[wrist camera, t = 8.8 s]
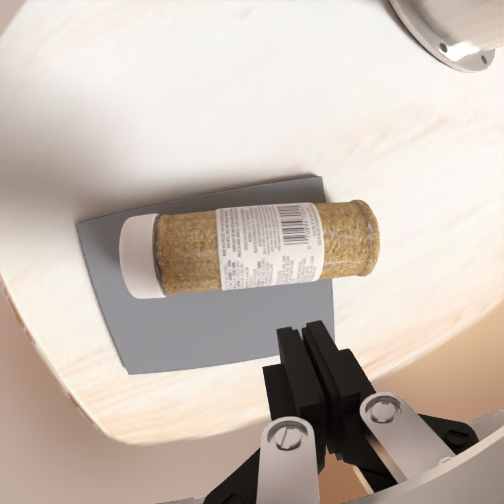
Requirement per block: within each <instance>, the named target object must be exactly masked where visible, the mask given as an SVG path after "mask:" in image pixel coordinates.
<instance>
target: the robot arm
mask: <svg viewBox="0 0 504 504" xmlns="http://www.w3.org/2000/svg"><path fill="white" fill-rule="evenodd" d="M389 1H390V3H391V5H392V6H393V8H394V10H395V12H396V13H397V15H398V16H399V18H400V19H401V21H402V22H403V23H404V25H405V26H406V27H407V28H408V30H409V31H410V32H411V34H412V35H413V36H414V37H415V38H416V39H417V40H418V41H419V42H420V43H421V44H422V45H423V46H424V47H425V48H426V49H427V50H428V51H429V52H430V53H432V54H433V55H434V56H435V57H437V58H438V59H439V60H441V61H442V62H443V63H445V64H447V65H449V66H450V67H452V68H454V69H456V70H459V71H462V72H468V73H474V72H479V71H482V70H485V69H487V68H488V67H489V66H490V65H491V63H492V61H493V59H494V53H495V48H499V47H503V46H504V0H389ZM276 332H277V339H278V346H279V353H280V360H281V364H276V365H270V366H265V367H262V368H263V374H264V380H265V385H266V391H267V397H268V403H269V408H270V414H271V419H272V422H271V423H270V424H268V425H267V426H266V427H265V429H264V430H263V433H262V436H261V447H260V448H259V449H258V450H257V451H256V452H255V453H254V454H253V455H252V456H251V457H250V458H249V459H248V460H247V461H246V462H244V463H243V464H242V465H241V466H240V467H239V468H238V469H237V470H236V471H235V472H233V473H232V474H231V475H230V476H229V477H228V478H227V479H226V480H224V481H223V482H222V483H221V484H220V485H219V486H217V487H216V488H215V489H214V490H213V491H211V492H210V494H208V495H207V497H205V498H200V499H194V498H188V499H183V500H177V501H171V502H165V503H158V504H320V500H319V485H318V475H319V473H320V472H321V471H322V469H323V468H324V466H325V465H324V464H325V455H326V446H327V449H328V451H329V453H330V454H334V453H335V455H336V458H337V460H341V459H343V461H344V462H346V463H349V464H351V465H352V468H353V470H354V472H355V474H356V475H357V477H358V479H359V480H360V482H361V483H362V485H363V486H364V488H365V490H366V491H367V493H368V496H365V497H362V498H359V499H356V500H352V501H349V502H346V503H342V504H504V409H501V410H498V411H496V412H494V413H491V414H488V415H485V416H482V417H479V418H477V419H474V420H471V421H470V423H469V424H465V423H462V422H457V421H452V420H446V419H442V418H437V417H431V416H427V415H422V414H418V413H416V412H415V411H414V410H413V409H412V408H411V407H410V406H409V405H408V404H407V402H405V400H404V399H403V398H401V397H400V396H399V395H396V394H394V393H388V392H381V393H376V391H375V390H374V388H373V386H372V385H371V383H370V381H369V380H368V378H367V376H366V375H365V373H364V371H363V370H362V368H361V366H360V365H359V363H358V361H357V360H356V358H355V357H354V355H353V353H352V352H351V350H350V349H348V348H347V349H343V350H340V351H339V350H338V348H337V347H336V345H335V343H334V341H333V340H332V338H331V336H330V334H329V332H328V331H327V329H326V327H325V325H324V324H323V322H322V320H318V321H314V322H309V323H306V327H304V328H302V338H301V336H300V333H299V331H298V329H294V330H292V327H291V326H289V327H284V328H279V329H276Z"/></svg>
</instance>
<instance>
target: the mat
mask: <svg viewBox="0 0 504 504" xmlns="http://www.w3.org/2000/svg"><path fill="white" fill-rule="evenodd" d="M291 203H312V204H319V203H325V198H324V189H323V181H322V177H321V176H318V177H310V178H302V179H295V180H288V181H281V182H274V183H268V184H261V185H255V186H249V187H243V188H237V189H231V190H226V191H220V192H215V193H209V194H204V195H199V196H193V197H188V198H183V199H179V200H174V201H169V202H164V203H159V204H155V205H150V206H146V207H141V208H137V209H133V210H128V211H124V212H120V213H116V214H112V215H108V216H104V217H100V218H96V219H92V220H88V221H84V222H81V223H78V224H76V225H77V229H78V233H79V237H80V241H81V245H82V249H83V252H84V256H85V259H86V263H87V266H88V269H89V273H90V276H91V279H92V282H93V285H94V288H95V291H96V294H97V297H98V300H99V303H100V306H101V309H102V311H103V314H104V317H105V320H106V322H107V325H108V327H109V330H110V332H111V335H112V337H113V340H114V342H115V345H116V347H117V349H118V352H119V354H120V356H121V359H122V361H123V363H124V365H125V368H126V370H127V372H128V374H129V375H134V374H147V373H159V372H169V371H179V370H188V369H196V368H204V367H211V366H218V365H225V364H231V363H238V362H244V361H249V360H255V359H261V358H266V357H271V356H276V355H280V353H279V346H278V339H277V332H276V329H279V328H284V327H289V326H291V327H292V330H294V329H298V331H299V333H300V336H301V338H302V328H304V327H306V323H309V322H314V321H318V320H322V322H323V324H324V325H325V327H326V329H327V331H328V332H329V334H330V336H331V338H332V340H333V341H334V342H335V334H334V308H333V289H332V278H328V279H320V280H316V281H313V282H304V283H294V284H284V285H274V286H265V287H255V288H245V289H233V290H217V289H216V290H209V291H198V292H186V293H175V294H174V295H170V294H168V295H167V296H166V297H164V298H146V299H139V298H135V297H134V296H133V295H131V293H130V292H129V290H128V289H127V287H126V284H125V282H124V279H123V275H122V271H121V266H120V255H119V243H120V235H121V231H122V227H123V225H124V223H125V221H126V220H127V219H128V218H130V217H134V216H140V215H147V214H156V213H157V214H159V215H160V216H162V215H164V214H166V215H178V214H187V213H195V212H206V211H214V210H217V209H222V208H232V207H245V206H258V205H274V204H291Z"/></svg>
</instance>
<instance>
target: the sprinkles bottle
mask: <svg viewBox="0 0 504 504" xmlns="http://www.w3.org/2000/svg"><path fill="white" fill-rule="evenodd" d="M379 250H380V233H379V228H378V223H377V220H376V217H375V215H374V213H373V212H372V210H371V208H370V207H369V205H368V204H367V203H366V202H364V201H362V200H353V201H351V202H342V203H319V204H312V203H291V204H274V205H258V206H245V207H232V208H222V209H217V210H214V211H206V212H195V213H187V214H178V215H166V214H164V215H162V216H160V215H159V214H157V213H156V214H147V215H140V216H134V217H130V218H128V219H127V220H126V221H125V223H124V225H123V227H122V231H121V235H120V243H119V255H120V266H121V271H122V275H123V279H124V282H125V284H126V287H127V289H128V290H129V292H130V293H131V295H133V296H134V297H135V298H139V299H146V298H164V297H166V296H167V295H168V294H170V295H174V294H175V293H186V292H198V291H209V290H216V289H217V290H233V289H245V288H255V287H265V286H274V285H284V284H294V283H304V282H313V281H316V280H320V279H328V278H337V277H346V276H353V275H357V276H366V275H368V274H370V273H371V272H372V270H373V269H374V268H375V266H376V264H377V261H378V257H379Z"/></svg>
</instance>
